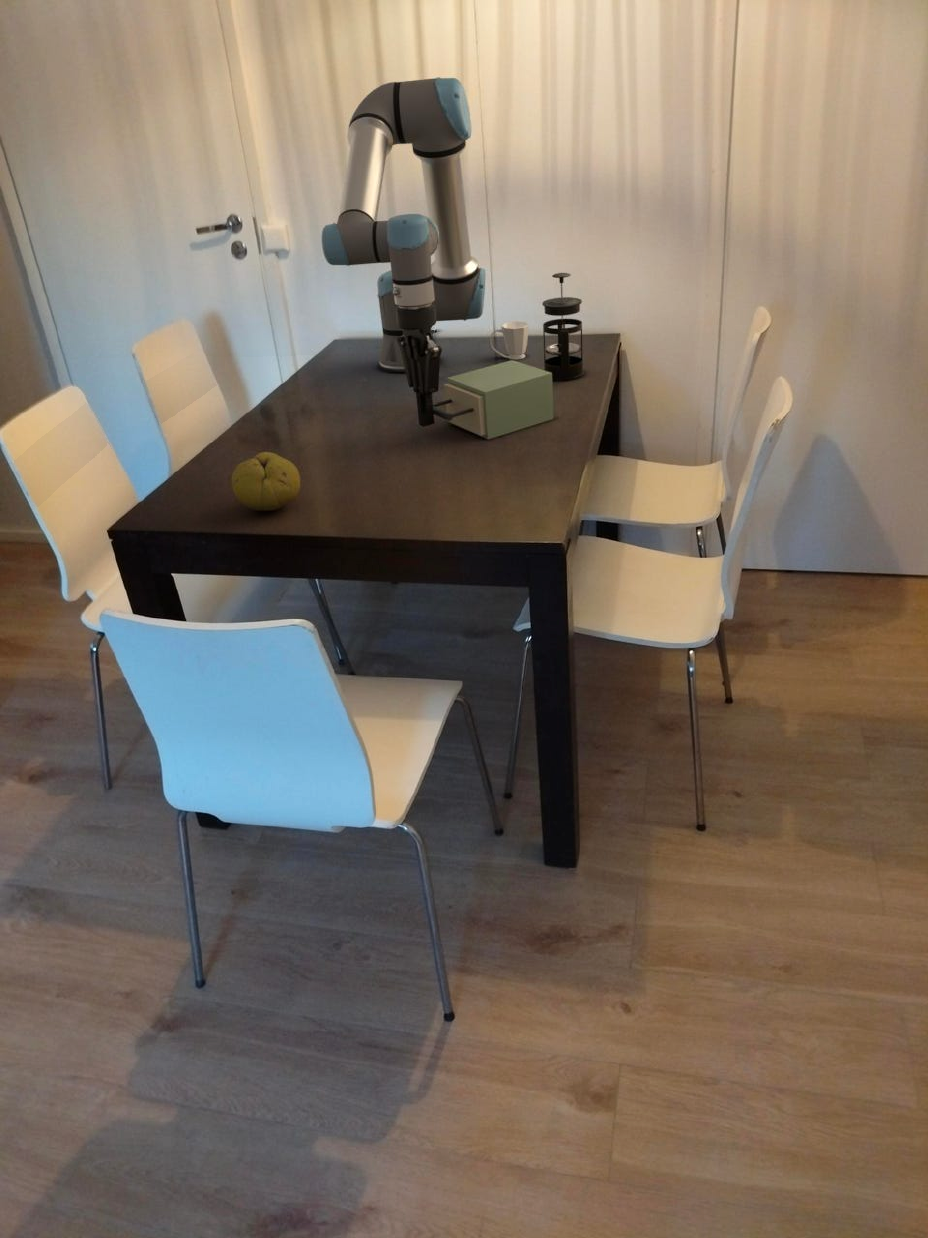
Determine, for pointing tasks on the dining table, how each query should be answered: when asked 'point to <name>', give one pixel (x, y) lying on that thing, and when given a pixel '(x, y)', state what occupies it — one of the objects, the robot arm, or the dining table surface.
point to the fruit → (265, 482)
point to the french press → (563, 336)
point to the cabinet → (510, 395)
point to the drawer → (462, 409)
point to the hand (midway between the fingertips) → (426, 424)
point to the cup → (513, 339)
